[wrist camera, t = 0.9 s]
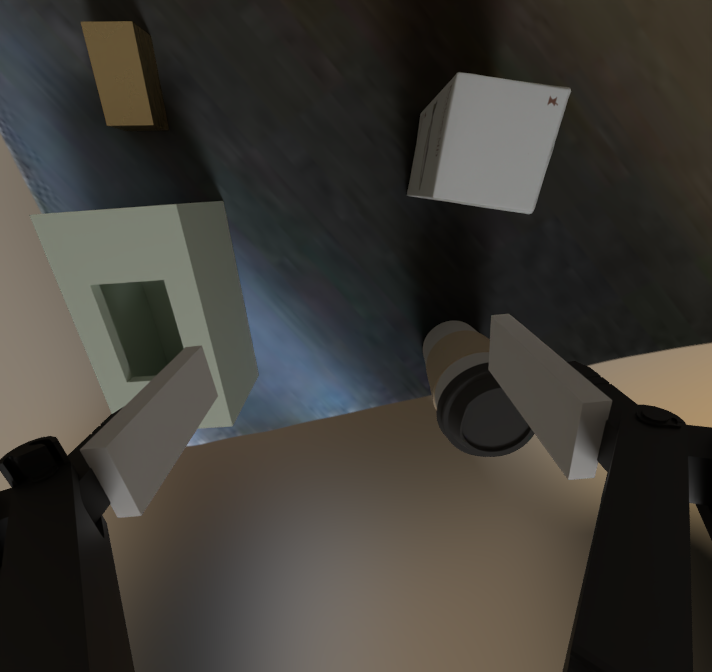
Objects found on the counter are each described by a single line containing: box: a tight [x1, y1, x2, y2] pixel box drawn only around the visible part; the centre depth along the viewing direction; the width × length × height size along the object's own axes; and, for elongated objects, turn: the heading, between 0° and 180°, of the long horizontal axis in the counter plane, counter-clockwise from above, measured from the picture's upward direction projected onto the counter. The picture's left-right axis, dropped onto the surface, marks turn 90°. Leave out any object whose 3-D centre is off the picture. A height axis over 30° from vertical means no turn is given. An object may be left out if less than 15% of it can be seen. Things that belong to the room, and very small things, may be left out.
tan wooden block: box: [81, 21, 169, 131], centre depth 30 cm, size 7×4×3 cm, turn 1°
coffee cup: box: [423, 321, 535, 457], centre depth 34 cm, size 9×9×15 cm
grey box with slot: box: [30, 201, 259, 428], centre depth 34 cm, size 20×11×10 cm, turn 4°
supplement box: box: [407, 72, 571, 214], centre depth 27 cm, size 7×7×13 cm
